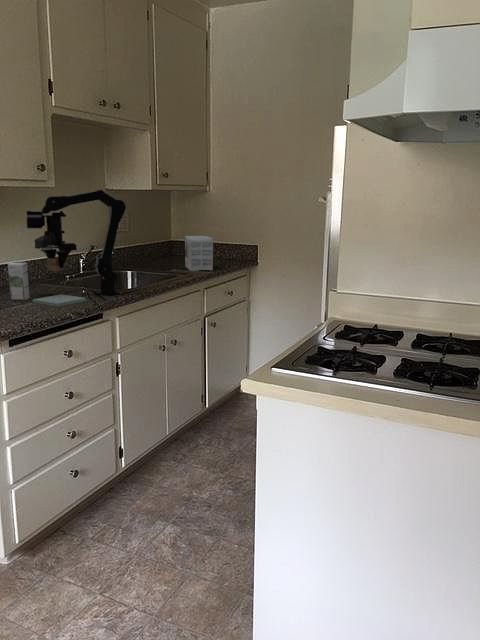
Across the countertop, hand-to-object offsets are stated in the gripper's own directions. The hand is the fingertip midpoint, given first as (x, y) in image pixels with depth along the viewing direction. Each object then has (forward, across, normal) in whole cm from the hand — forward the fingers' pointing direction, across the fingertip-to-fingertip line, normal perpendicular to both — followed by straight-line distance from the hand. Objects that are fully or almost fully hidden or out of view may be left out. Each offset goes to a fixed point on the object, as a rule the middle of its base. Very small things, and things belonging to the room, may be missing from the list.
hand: (56, 267), depth 224 cm
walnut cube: (+1, 0, 0) cm, 1 cm away
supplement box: (+12, -7, +104) cm, 105 cm away
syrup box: (+12, -8, -13) cm, 19 cm away
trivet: (+12, +9, -7) cm, 17 cm away
